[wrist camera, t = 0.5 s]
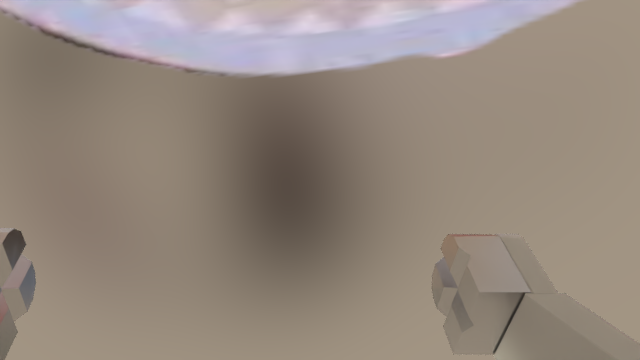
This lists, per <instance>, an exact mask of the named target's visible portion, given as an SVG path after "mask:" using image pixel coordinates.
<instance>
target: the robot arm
mask: <svg viewBox="0 0 640 360" xmlns="http://www.w3.org/2000/svg"><path fill="white" fill-rule="evenodd" d="M25 246H26V243H25V240H24V237H23V235H22V233H21V231H19V230H17V229H9V228H0V360H5V358H6V356H7V353H8V352H9V349H10V347H11V345H12V343H13V341H14V339H15V337H16V335H17V333H18V331H17V329H16V326H15V323H14V321H15V320H16V319H18V318H19V317H21V316H22V315H24V314H25V313H26V312H27V311H28V309H29V307H30V305H31V302H32V300H33V296H34V291H35V285H36V279H35V270H34V267H33V264H32V262H31V261H30V260H28V259H27V258H26V257H25V256H23V255H22V252H23V250H24V248H25ZM441 250H442V253H443V255H444V257H443V258H442V259H441V260H440V261H439V262H437V263H436V264H435V267H434V271H433V274H432V293H433V298H434V301H435V304H436V307H437V309H438V310H439V311H440V312H442V313H443V314H444V315H445V316H446V317H447V318H446V320H445V323H444V325H443V327H444V330H445V333H446V336H447V338H448V341H449V344H450V347H451V349H452V352H453V354H485V355H489V354H490V355H491V354H492V355H494V358H495V359H496V360H640V344H639V343H638V342H637V341H635V340H634V339H632V338H631V337H629V336H627V335H626V334H625V333H623V332H622V331H620V330H619V329H618V328H616V327H615V326H613V325H612V324H610V323H608V322H607V321H606V320H604V319H603V318H601V317H600V316H598V315H597V314H595V313H594V312H592V311H591V310H589V309H588V308H586V307H585V306H583V305H582V304H580V303H579V302H577V301H576V300H575V299H573V298H572V297H570V296H568V295H567V294H566V293H558V292H557V290H556V289H555V288H554V286H553V284H552V282H551V281H550V279H549V278H548V276H547V274H546V273H545V271H544V270H543V268H542V266H541V265H540V263H539V262H538V260H537V259H536V257H535V255H534V254H533V252H532V250H531V249H530V248H529V246H528V244H527V243H526V241H525V239H524V238H523V237H522V236H520V235H519V234H495V235H491V234H485V235H484V234H448V235H447V236H446V237H445V238H444V240H443V243H442V246H441Z"/></svg>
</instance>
